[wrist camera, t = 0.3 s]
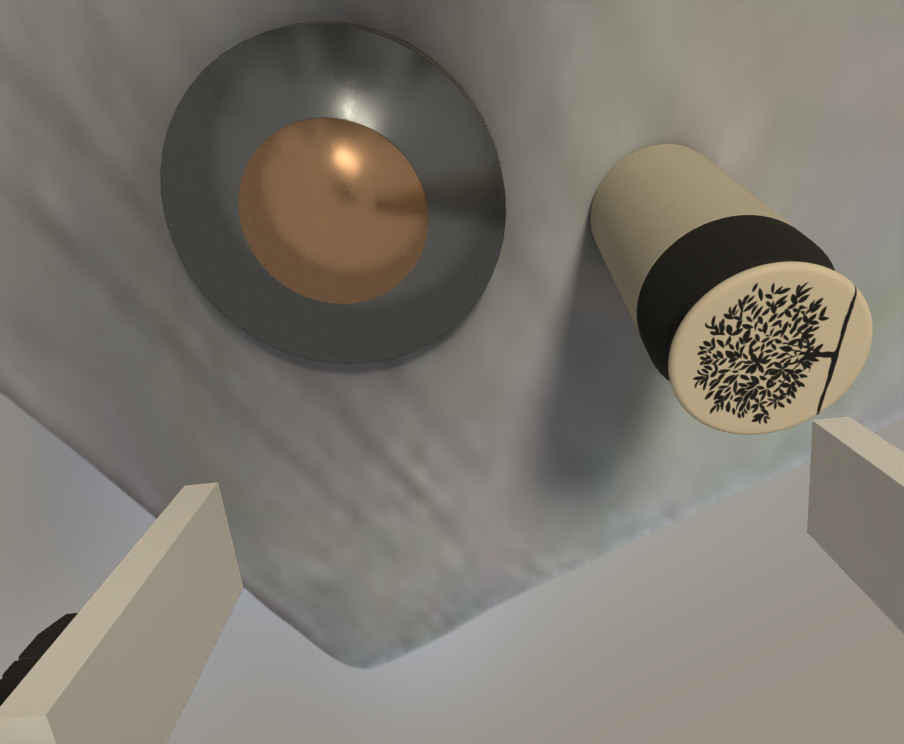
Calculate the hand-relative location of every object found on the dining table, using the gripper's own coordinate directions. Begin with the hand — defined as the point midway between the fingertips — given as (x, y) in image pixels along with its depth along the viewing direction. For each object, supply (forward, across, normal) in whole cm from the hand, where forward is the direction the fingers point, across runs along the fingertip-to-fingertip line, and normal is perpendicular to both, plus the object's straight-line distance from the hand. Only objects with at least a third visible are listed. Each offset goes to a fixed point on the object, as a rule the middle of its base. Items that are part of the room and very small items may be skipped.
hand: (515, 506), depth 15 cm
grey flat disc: (+29, -8, +6) cm, 30 cm away
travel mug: (+29, +11, +3) cm, 31 cm away
